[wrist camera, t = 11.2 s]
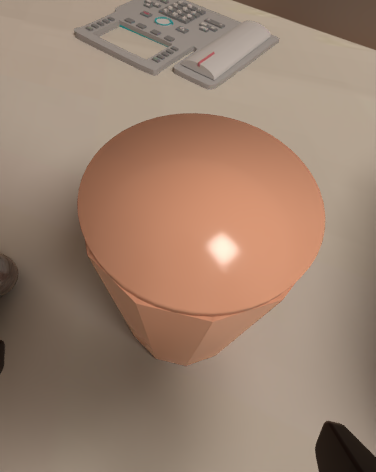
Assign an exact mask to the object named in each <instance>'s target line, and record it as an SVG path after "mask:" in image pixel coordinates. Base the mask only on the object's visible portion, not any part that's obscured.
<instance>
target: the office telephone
mask: <svg viewBox="0 0 376 472" xmlns="http://www.w3.org/2000/svg"><path fill="white" fill-rule="evenodd" d="M118 27H122V28H125V29H127V30H130V31H132V32H134V33H137V34H139V35H141V36H143V37H146V38H148V39H150V40H153V41H155V42H157V43H160V44H162V45H164V46H166V47H168V48H166V49H164V50H163V51H161V52H159V53H158V54H156V55H154V56H152V57H151V58H149V59H147V60H146V59H143V58H141V57H139V56H137V55H135V54H133V53H130V52H128V51H126V50H124V49H122V48H120V47H118V46H116V45H114V44H112V43H110V42H107V41H106V40H104V39H102V38H100V37H99V36H101V35H103V34H105V33H107V32H109V31H111V30H113V29H115V28H118ZM74 32H75V36H76V38H77V39H79V40H81V41H83V42H85V43H87V44H89V45H91V46H93V47H95V48H97V49H99V50H101V51H103V52H105V53H107V54H109V55H111V56H113V57H115V58H117V59H119V60H121V61H123V62H125V63H127V64H129V65H131V66H133V67H135V68H137V69H139V70H142V71H144V72H146V73H149V74H151V75H158V74H159V73H160V72H161V71H162V70H164V69H165V68H167V67H168V66H170V65H171V64H173V63H174V62H176V61H178V60H179V59H181V58H182V57H184V56H185V55H187V54H189V53H190V52H192V51H194V52H193V53H192V54H191V55H189V56H188V57H186V58H185V59H183V60H182V61H180V62H179V63H177V64H176V65H175V66H174V73H175V74H176V75H178V76H180V77H182V78H184V79H186V80H188V81H191V82H193V83H195V84H197V85H199V86H201V87H203V88H206V89H215V88H217V87H218V86H220V85H221V84H223V83H224V82H225V81H227V80H228V79H230V78H231V77H232V76H234V75H235V74H236V73H237V72H238V71H241V70H242V69H244V68H245V67H246V66H248V65H249V64H250V63H252V62H253V61H254V60H256V59H257V58H258V57H259V56H261V55H262V54H263V53H265V52H266V51H267V50H269V49H270V48H271V47H273V46H274V45H275V44H277V43H278V42H279V38H278V37H276V36H273V35H271V34H270V32H269V30H268V29H267V28H266V27H265V26H263V25H262V24H260V23H257V22H254V21H244V22H242V23H241V22H239V21H236V20H234V19H231V18H229V17H226V16H224V15H221V14H219V13H216V12H214V11H211V10H209V9H206V8H204V7H201V6H199V5H196V4H194V3H191V2H189V1H186V0H132V1H130V2H128V3H125V4H123V5H121V6H119V7H117V8H115V12H114V13H112V14H110V15H108V16H105V17H103V18H101V19H99V20H97V21H94V22H92V23H90V24H87V25H85V26H83V27H79V28H75V29H74Z"/></svg>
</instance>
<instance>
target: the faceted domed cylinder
mask: <svg viewBox="0 0 376 472" xmlns="http://www.w3.org/2000/svg"><path fill="white" fill-rule="evenodd" d="M77 205H78V217H79V222H80V226H81V230H82V233H83V235H84V237H85V242H86V249H87V255H88V257H89V259H90V260H91V262H92V264H93V266H94V267H95V269H96V271H97V273H98V274H99V276H100V278H101V279H102V281H103V283H104V285H105V286H106V288H107V290H108V292H109V293H110V295H111V297H112V298H113V300H114V302H115V304H116V305H117V307H118V309H119V311H120V312H121V314H122V316H123V317H124V319H125V321H126V323H127V324H128V326H129V328H130V330H131V331H132V333H133V335H134V336H135V337H136V338H137V340H138V341H139V342H140V343H141V344H142V345H143V346H144V347H145V348H146V349H147V350H148V351H149V352H150V353H151V354H152V355H153V356H154V358H155V359H159V360H163V361H167V362H171V363H175V364H179V365H183V366H187V365H190V364H193V363H196V362H199V361H202V360H205V359H208V358H210V357H213V356H215V355H217V354H218V353H219V352H220V351H222V350H223V349H224V348H225V347H226V346H228V345H229V344H230V343H231V342H232V341H234V340H235V339H236V338H237V337H238V336H240V335H241V334H242V333H243V332H245V331H246V330H247V329H248V328H249V327H251V326H252V325H253V324H254V323H255V322H257V321H258V320H259V319H260V318H261V317H263V316H264V315H265V314H266V313H268V312H269V311H270V310H271V309H272V308H274V307H275V306H276V305H277V304H278V303H280V302H281V301H282V300H283V299H284V297H285V296H286V295H287V293H288V292H289V291H290V289H291V288H292V287H293V285H294V284H295V283H296V281H297V280H299V279H300V278H301V276H302V275H303V274H304V273H305V272H306V271H307V270H308V268H309V267H310V266H311V264H312V262H313V261H314V259H315V257H316V256H317V254H318V251H319V249H320V246H321V244H322V240H323V235H324V230H325V211H324V203H323V200H322V196H321V193H320V190H319V188H318V186H317V183H316V181H315V179H314V177H313V176H312V174H311V173H310V171H309V170H308V168H307V167H306V166H305V164H304V163H303V162H302V161H301V159H300V158H299V157H298V156H297V155H296V154H295V153H294V152H293V151H292V150H291V149H289V148H288V147H287V146H286V145H284V144H283V143H282V142H281V141H279V140H278V139H276V138H275V137H273V136H272V135H270V134H268V133H266V132H264V131H263V130H261V129H259V128H257V127H254V126H252V125H249V124H247V123H244V122H241V121H238V120H235V119H231V118H227V117H223V116H216V115H210V114H197V113H193V114H174V115H167V116H162V117H157V118H154V119H150V120H146V121H144V122H141V123H139V124H136V125H134V126H132V127H130V128H128V129H126V130H124V131H122V132H121V133H119V134H118V135H116V136H115V137H113V138H112V139H111V140H110V141H108V142H107V143H106V144H105V145H104V146H103V147H102V148H101V149H100V150H99V151H98V152H97V153H96V154H95V156H94V157H93V159H92V160H91V162H90V163H89V165H88V166H87V168H86V171H85V173H84V175H83V177H82V180H81V184H80V187H79V193H78V201H77Z"/></svg>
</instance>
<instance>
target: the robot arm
mask: <svg viewBox="0 0 376 472" xmlns="http://www.w3.org/2000/svg"><path fill="white" fill-rule="evenodd" d="M4 354H5V343H4V341H2V340H0V373H1V372H2V370H3V367H4ZM315 453H316V459H317V464H318V469H319V472H376V457H375V456H374V455H373V454H372V453H371V452H370V451H369V450H368V449H367V448H366V447H365V446H364V445H363V444H362V443H361V442H360V441H359V440H358V439H357V438H356V437H355V436H354V435H353V434H352V433H351V432H350V431H349V430H348V429H347V428H346V427H345V426H344V425H342V424H340V423H336V422H331V421H326V422H325V423H324V425H323V427H322V430H321V432H320V435H319V437H318V440H317V442H316V447H315Z"/></svg>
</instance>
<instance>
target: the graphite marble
mask: <svg viewBox="0 0 376 472" xmlns="http://www.w3.org/2000/svg"><path fill="white" fill-rule="evenodd" d="M17 278H18V270H17V267H16V265H15V263H14V262H13V261H12V260H11V259H10V258H9V257H7V256H5V255H2V254H0V296H3V295H4V294H6V293H7V292H9V291H10V290H11V289H12V288H13V287H14V285H15V283H16V281H17Z"/></svg>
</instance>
